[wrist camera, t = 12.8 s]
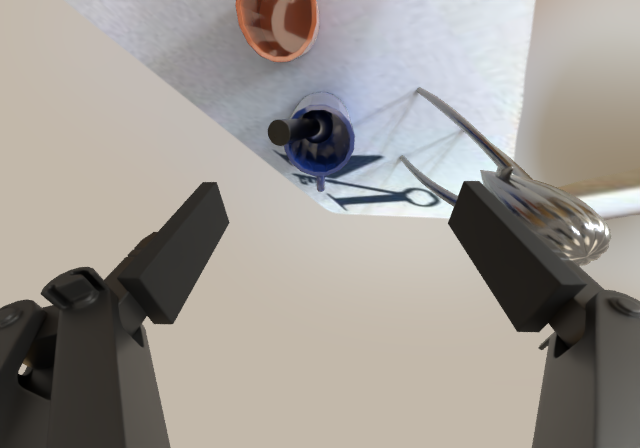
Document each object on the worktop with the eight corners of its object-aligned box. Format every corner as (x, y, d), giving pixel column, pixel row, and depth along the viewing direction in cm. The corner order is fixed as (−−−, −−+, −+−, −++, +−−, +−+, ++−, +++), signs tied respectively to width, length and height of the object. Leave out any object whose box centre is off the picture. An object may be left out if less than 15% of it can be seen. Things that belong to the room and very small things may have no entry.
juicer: (399, 159, 42) (491, 306, 18) (417, 87, 36) (598, 171, 12) (454, 161, 43) (617, 313, 18) (482, 90, 36) (795, 182, 12)
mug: (290, 92, 37) (279, 105, 29) (350, 91, 36) (356, 103, 28) (297, 170, 44) (290, 198, 36) (347, 170, 44) (351, 197, 36)
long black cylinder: (305, 108, 38) (252, 104, 23) (336, 108, 37) (302, 104, 22) (306, 141, 40) (258, 158, 25) (335, 142, 39) (304, 160, 24)
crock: (251, -22, 30) (226, -44, 22) (318, -25, 29) (314, -48, 22) (263, 59, 34) (245, 63, 27) (320, 57, 34) (317, 60, 27)
